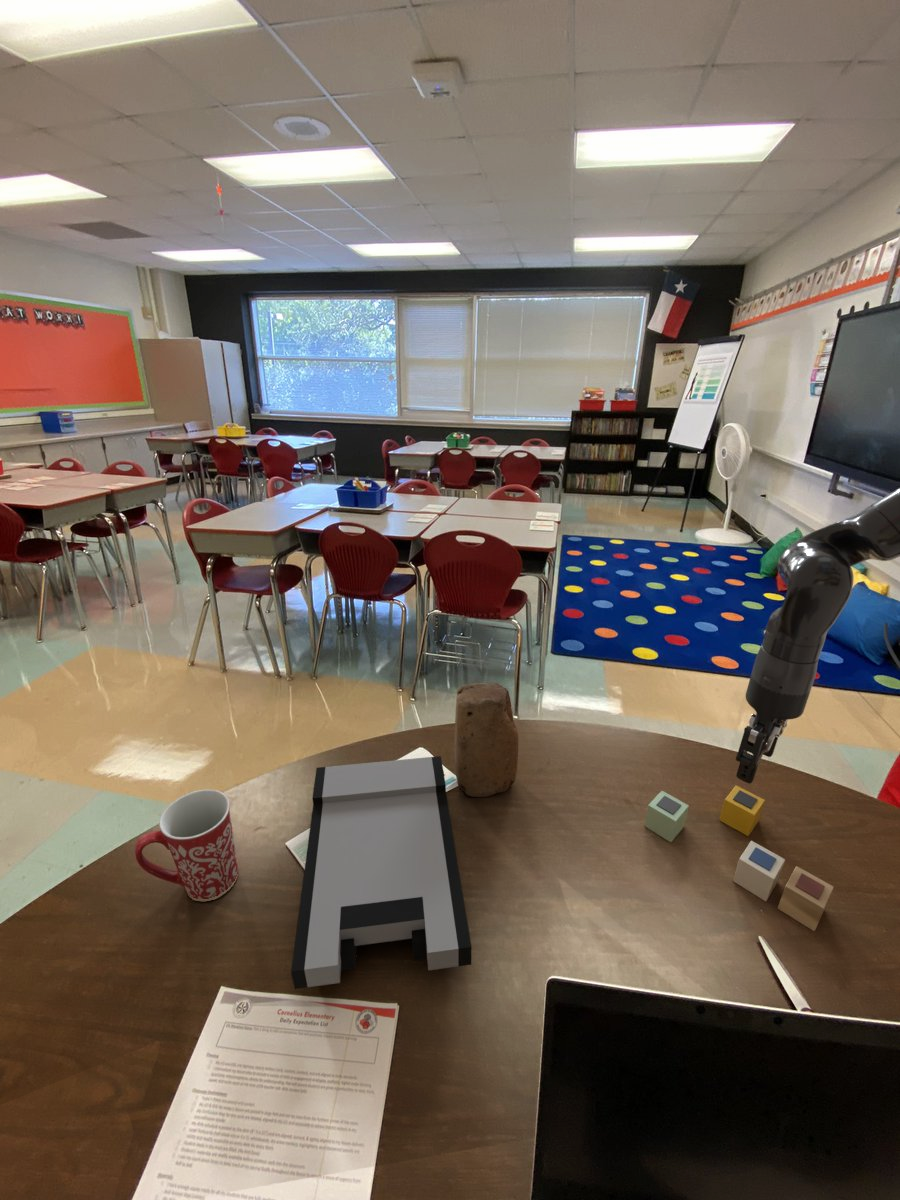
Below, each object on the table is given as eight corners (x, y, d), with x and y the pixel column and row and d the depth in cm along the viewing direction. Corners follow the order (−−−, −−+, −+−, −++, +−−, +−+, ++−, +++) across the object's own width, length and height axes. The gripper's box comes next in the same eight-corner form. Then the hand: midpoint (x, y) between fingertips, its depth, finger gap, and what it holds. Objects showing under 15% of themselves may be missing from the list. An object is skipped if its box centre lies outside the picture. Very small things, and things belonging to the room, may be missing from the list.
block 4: (788, 888, 78) (796, 864, 76) (824, 909, 75) (834, 886, 73) (777, 908, 75) (785, 885, 73) (814, 931, 72) (824, 908, 70)
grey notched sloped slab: (298, 1007, 64) (289, 964, 61) (321, 804, 93) (316, 767, 90) (470, 983, 67) (471, 940, 63) (441, 792, 95) (440, 756, 92)
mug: (243, 846, 85) (228, 781, 80) (248, 894, 78) (231, 826, 72) (154, 874, 81) (131, 807, 75) (150, 928, 73) (124, 858, 68)
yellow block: (730, 805, 92) (736, 784, 90) (758, 820, 89) (765, 799, 87) (719, 820, 89) (724, 798, 87) (748, 836, 86) (755, 814, 84)
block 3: (744, 862, 82) (751, 839, 80) (777, 881, 79) (785, 858, 77) (732, 881, 79) (739, 858, 77) (766, 901, 76) (774, 878, 74)
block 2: (657, 811, 91) (662, 789, 89) (684, 826, 88) (689, 804, 86) (644, 826, 88) (648, 804, 86) (670, 842, 85) (675, 820, 83)
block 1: (456, 800, 94) (456, 705, 85) (453, 770, 101) (453, 679, 92) (518, 797, 94) (524, 702, 86) (511, 767, 101) (516, 676, 93)
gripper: (794, 710, 71) (764, 803, 77) (825, 670, 80) (795, 756, 86) (734, 687, 75) (711, 776, 82) (770, 651, 84) (746, 734, 91)
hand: (754, 766), depth 84 cm, fingers open, 8 cm apart
